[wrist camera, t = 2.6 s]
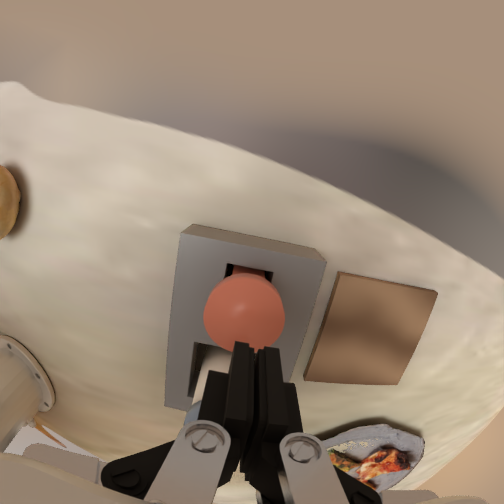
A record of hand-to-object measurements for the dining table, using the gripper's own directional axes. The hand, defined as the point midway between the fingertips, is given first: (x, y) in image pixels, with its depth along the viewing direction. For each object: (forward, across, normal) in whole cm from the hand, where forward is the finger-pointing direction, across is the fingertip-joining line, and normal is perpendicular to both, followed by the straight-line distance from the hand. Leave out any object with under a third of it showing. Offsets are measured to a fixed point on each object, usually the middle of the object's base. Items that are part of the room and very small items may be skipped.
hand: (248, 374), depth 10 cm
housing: (+14, 0, +5) cm, 15 cm away
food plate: (+14, -20, +28) cm, 37 cm away
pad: (+14, -13, +4) cm, 19 cm away
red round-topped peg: (+12, 0, 0) cm, 12 cm away
